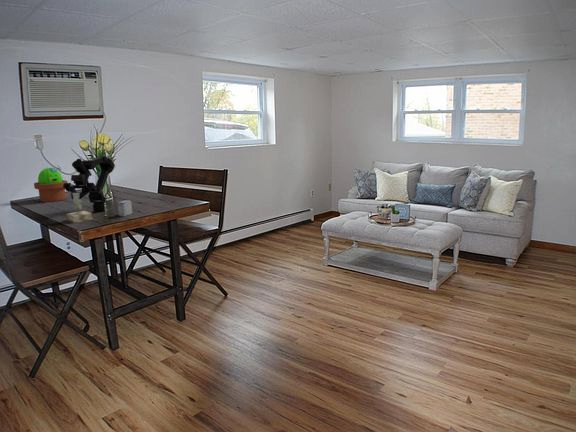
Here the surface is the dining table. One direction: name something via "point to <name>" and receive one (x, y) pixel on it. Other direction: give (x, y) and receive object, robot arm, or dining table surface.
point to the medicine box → (125, 208)
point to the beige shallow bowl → (79, 216)
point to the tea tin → (77, 201)
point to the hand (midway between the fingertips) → (76, 198)
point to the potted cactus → (50, 185)
